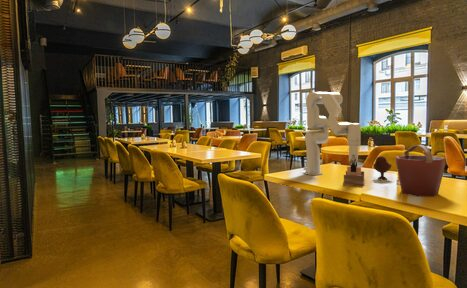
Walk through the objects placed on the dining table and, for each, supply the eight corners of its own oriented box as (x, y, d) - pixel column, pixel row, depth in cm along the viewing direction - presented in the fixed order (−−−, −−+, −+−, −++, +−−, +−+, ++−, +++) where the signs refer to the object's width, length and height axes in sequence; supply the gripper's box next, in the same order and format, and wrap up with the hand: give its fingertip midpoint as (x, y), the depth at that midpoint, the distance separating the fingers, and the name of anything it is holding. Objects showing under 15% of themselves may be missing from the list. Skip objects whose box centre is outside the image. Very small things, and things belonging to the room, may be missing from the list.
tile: (347, 180, 203) (347, 166, 203) (361, 180, 200) (360, 166, 200) (347, 181, 201) (347, 166, 200) (361, 181, 198) (360, 167, 197)
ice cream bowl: (392, 180, 204) (393, 156, 203) (373, 180, 208) (373, 156, 207) (390, 177, 214) (390, 155, 213) (372, 177, 218) (372, 155, 217)
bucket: (394, 187, 184) (394, 143, 183) (439, 189, 176) (440, 143, 174) (399, 196, 161) (399, 147, 160) (451, 199, 153) (451, 147, 152)
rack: (345, 179, 211) (345, 170, 210) (364, 180, 206) (364, 171, 206) (342, 184, 195) (342, 175, 195) (364, 185, 190) (364, 175, 190)
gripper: (348, 142, 208) (348, 168, 210) (346, 144, 193) (346, 172, 194) (360, 142, 205) (360, 168, 207) (360, 144, 190) (359, 173, 191)
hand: (353, 170), depth 200 cm, fingers open, 9 cm apart
